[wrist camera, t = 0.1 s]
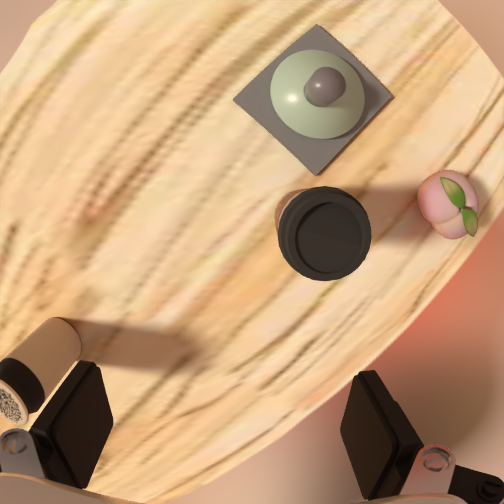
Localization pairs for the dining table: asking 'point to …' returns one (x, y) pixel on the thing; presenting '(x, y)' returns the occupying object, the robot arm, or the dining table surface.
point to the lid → (317, 94)
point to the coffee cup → (322, 232)
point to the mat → (303, 148)
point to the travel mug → (36, 369)
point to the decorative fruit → (449, 204)
